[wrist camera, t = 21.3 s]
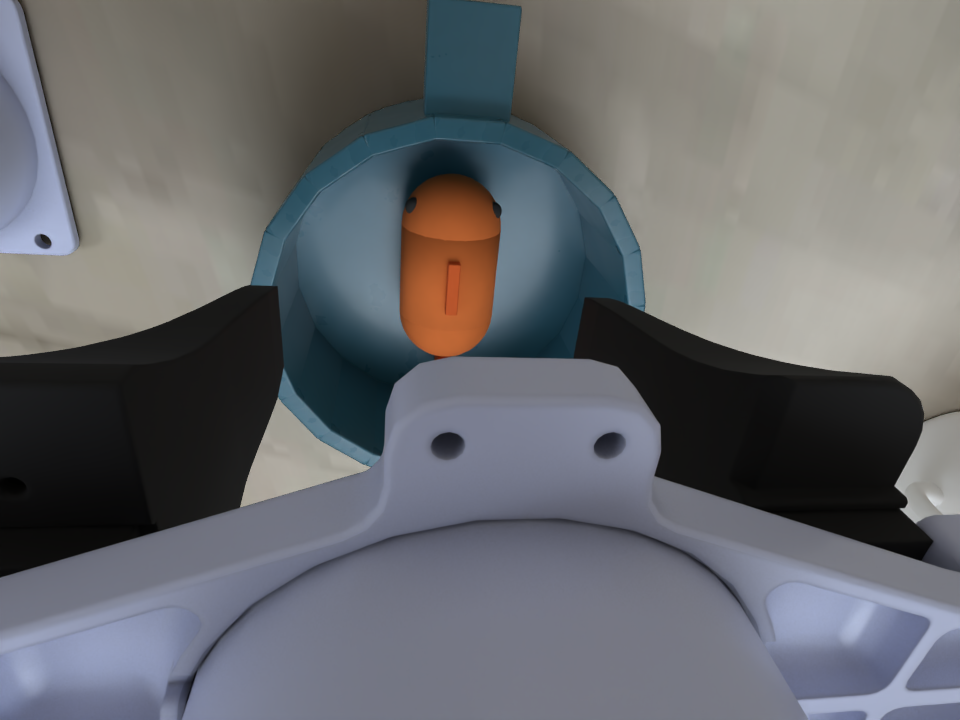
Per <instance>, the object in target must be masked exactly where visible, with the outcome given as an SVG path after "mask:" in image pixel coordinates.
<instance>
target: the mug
mask: <svg viewBox="0 0 960 720" xmlns="http://www.w3.org/2000/svg"><path fill="white" fill-rule="evenodd" d="M895 487H896V488H897V489H898V490H899V491H900V492H901V493H902V494H903V495H905V496H906V497H907V501H908V504H907V505H906V507H905V508H900V509H901V510H902V511H903V512H904V513H905V514H906V515H907V516H908V517H909V518H910V519H911V520H912V521H913V522H914V523H915V524H916V523H917V522H918V521H920V520H922V519H923V518H925V517H928V516H933V515H956V514H960V411H959V412H953V413H948V414H944V415H941V416H938V417H935V418H932V419H930V420H927V421H925V422H923V430H922V433H921V435H920V438H919V440H918V443H917V445H916V447H915V449H914V451H913V453H912V455H911V457H910V458H909V460H908V462H907V464H906V466H905V467H904V469H903V471H902V473H901V475H900V477H899V478H898V480H897V482H896V484H895Z"/></svg>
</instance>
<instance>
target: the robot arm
mask: <svg viewBox="0 0 960 720" xmlns="http://www.w3.org/2000/svg"><path fill="white" fill-rule="evenodd" d="M41 234H43V235H46V236H47V237H49V238H50V240H51V242H52V243H51V245H48V244H46V243H44V242H43V241H42V239H41ZM78 246H79V237H78V233H77V229H76V225H75V221H74V217H73V213H72V209H71V204H70V200H69V196H68V192H67V188H66V184H65V180H64V176H63V172H62V168H61V163H60V159H59V155H58V151H57V147H56V143H55V139H54V135H53V131H52V127H51V123H50V118H49V114H48V110H47V106H46V102H45V98H44V94H43V90H42V86H41V82H40V77H39V73H38V69H37V65H36V61H35V57H34V53H33V49H32V45H31V41H30V36H29V32H28V28H27V24H26V20H25V16H24V12H23V9H22V7H21V5H20V3H19V2H18V1H17V0H0V253H14V254H38V255H69V254H71V253H72V252H74V251H75V250H77V248H78ZM283 369H284V358H283V345H282V333H281V320H280V308H279V296H278V286H261V285H248V286H244V287H242V288H239V289H237V290H235V291H233V292H231V293H228V294H226V295H224V296H222V297H220V298H218V299H216V300H214V301H212V302H210V303H208V304H206V305H204V306H202V307H200V308H198V309H196V310H194V311H191V312H189V313H187V314H185V315H182V316H180V317H178V318H175V319H173V320H171V321H169V322H166V323H164V324H161V325H158V326H156V327H153V328H150V329H147V330H144V331H141V332H138V333H134V334H131V335H128V336H124V337H121V338H117V339H112V340H108V341H104V342H99V343H95V344H90V345H86V346H82V347H77V348H71V349H65V350H59V351H53V352H45V353H37V354H30V355H21V356H11V357H0V720H960V514H956V515H933V516H928V517H925V518H923V519H922V520H920V521H918V522H917V523H916V524H915V523H914V522H913V521H912V520H911V519H910V518H909V517H908V516H907V515H906V514H905V513H904V512H903V511H902V510H901V509H900V508H905V507H906V505H907V504H908V501H907V497H906V496H905V495H903V494H902V493H901V492H900V491H899V490H898V489H897V488H896V487H895V484H896V482H897V480H898V478H899V477H900V475H901V473H902V471H903V469H904V467H905V466H906V464H907V462H908V460H909V458H910V457H911V455H912V453H913V451H914V449H915V447H916V445H917V443H918V440H919V438H920V435H921V433H922V430H923V421H924V411H923V408H922V404H921V401H920V399H919V398H918V397H917V396H916V395H915V393H914V392H913V391H912V390H911V389H909V388H908V387H907V386H905V385H904V384H902V383H901V382H899V381H898V380H897V379H895V378H894V377H891V376H883V375H872V374H862V373H851V372H841V371H832V370H825V369H819V368H813V367H806V366H800V365H795V364H790V363H785V362H780V361H776V360H772V359H768V358H763V357H759V356H755V355H751V354H748V353H744V352H741V351H738V350H735V349H731V348H728V347H725V346H722V345H719V344H716V343H713V342H711V341H708V340H705V339H703V338H700V337H698V336H696V335H693V334H691V333H688V332H686V331H684V330H681V329H679V328H677V327H675V326H673V325H670V324H668V323H666V322H664V321H662V320H660V319H658V318H656V317H654V316H651V315H649V314H647V313H645V312H643V311H641V310H639V309H637V308H635V307H633V306H630V305H628V304H626V303H623V302H621V301H618V300H615V299H611V298H595V297H585V298H584V304H583V309H582V314H581V320H580V325H579V330H578V336H577V341H576V346H575V352H574V357H573V359H558V358H507V357H457V356H452V357H447V358H443V359H438V360H433V361H428V362H424V363H419V364H418V365H417V366H416V367H414V368H413V369H412V370H411V371H409V372H408V373H407V374H406V375H405V376H403V377H402V378H401V379H400V380H398V381H397V382H396V383H395V384H394V387H393V390H392V393H391V396H390V399H389V402H388V405H387V407H386V410H385V442H384V448H383V453H382V455H381V457H380V459H379V460H378V462H376V463H375V464H374V465H373V466H372V467H371V468H370V469H368V470H367V471H364V472H361V473H357V474H354V475H350V476H347V477H344V478H340V479H337V480H333V481H330V482H326V483H323V484H320V485H316V486H313V487H309V488H306V489H302V490H299V491H296V492H292V493H289V494H285V495H282V496H278V497H275V498H272V499H268V500H265V501H261V502H258V503H254V504H251V505H248V506H244V507H241V508H240V505H241V500H242V496H243V492H244V488H245V484H246V481H247V478H248V475H249V472H250V469H251V466H252V463H253V461H254V458H255V456H256V453H257V450H258V448H259V445H260V443H261V440H262V438H263V435H264V433H265V430H266V427H267V425H268V422H269V420H270V417H271V414H272V412H273V409H274V406H275V404H276V401H277V398H278V394H279V389H280V384H281V379H282V374H283Z"/></svg>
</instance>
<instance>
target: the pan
mask: <svg viewBox="0 0 960 720" xmlns="http://www.w3.org/2000/svg"><path fill="white" fill-rule="evenodd" d="M521 13H522V8H521V7H520V6H516V5H507V4H497V3H488V2H479V1H470V0H427V14H426V40H425V66H424V93H423V99H419V100H413V101H407V102H403V103H399V104H396V105H392V106H389V107H385V108H383V109H381V110H378V111H374V112H372V113H370V114H368V115H366V116H365V117H363V118H361V119H360V120H358V121H357V122H355V123H354V124H352V125H350V126H349V127H347V128H346V129H344V130H343V131H342V132H341V133H339V134H338V135H337V136H336V137H334V138H333V139H331V140H330V141H329V142H327V143H326V144H325V145H324V146H323V147H322V148H321V150H320V151H319V152H318V154H317V155H316V157H315V158H314V159H313V161H312V162H311V164H310V165H309V166H308V168H307V169H306V171H305V172H304V174H303V175H302V176H301V178H300V179H299V181H298V182H297V183H296V185H295V186H294V188H293V189H292V191H291V192H290V194H289V195H288V196H287V198H286V199H285V201H284V202H283V204H282V205H281V207H280V208H279V210H278V211H277V213H276V214H275V216H274V217H273V219H272V220H271V222H270V223H269V224H268V226H267V227H266V230H265V231H264V235H263V238H262V242H261V246H260V250H259V254H258V258H257V261H256V265H255V269H254V273H253V277H252V281H251V284H250V285H261V286H278V296H279V308H280V320H281V333H282V345H283V358H284V369H283V374H282V379H281V384H280V389H279V394H278V397H279V399H280V400H281V402H282V403H283V404H284V405H285V406H286V407H287V408H288V409H289V410H290V411H291V412H292V413H293V414H294V415H295V416H296V417H297V418H298V419H299V420H300V421H301V422H302V423H303V424H304V425H305V426H306V427H307V428H308V429H309V430H310V432H311V433H312V434H313V435H314V436H315V437H316V438H317V439H319V440H320V441H322V442H324V443H326V444H328V445H329V446H331V447H333V448H335V449H337V450H338V451H340V452H342V453H344V454H346V455H348V456H349V457H351V458H353V459H355V460H357V461H358V462H360V463H362V464H364V465H365V464H366V465H367V466H370V467H372V466H373V465H374V464H375V463H376V462H378V460H379V459H380V457H381V455H382V453H383V448H384V442H385V410H386V407H387V405H388V402H389V399H390V396H391V393H392V390H393V387H394V384H395V383H396V382H397V381H398V380H400V379H401V378H402V377H403V376H405V375H406V374H407V373H408V372H409V371H411V370H412V369H413V368H414V367H416V366H417V365H418V364H419V363H424V362H428V361H433V360H434V355H432V354H429V353H427V352H425V351H423V350H422V349H420V348H418V347H417V346H416V345H415V344H414V343H413V342H412V341H411V340H410V339H409V337H408V336H407V334H406V332H405V331H404V329H403V326H402V322H401V319H400V269H401V228H402V216H403V211H404V208H405V204H406V202H407V200H408V199H409V197H410V195H411V194H412V192H413V191H414V190H415V189H416V188H417V187H418V186H419V185H420V184H422V183H423V182H425V181H426V180H428V179H430V178H432V177H435V176H437V175H442V174H460V175H464V176H467V177H470V178H472V179H474V180H475V181H477V182H479V183H480V184H482V185H483V186H484V187H485V188H486V189H487V190H488V191H489V192H490V194H491V195H492V197H493V198H494V200H495V202H496V203H498V204H499V205H500V206H501V209H502V214H501V216H500V219H501V233H500V242H499V252H498V261H497V270H496V280H495V289H494V299H493V308H492V317H491V322H490V325H489V328H488V330H487V332H486V334H485V336H484V337H483V338H482V340H481V341H480V342H479V343H478V344H477V345H476V346H475V347H473V348H472V349H471V350H469V351H467V352H465V353H462V354H460V355H456V356H457V357H507V358H558V359H573V357H574V352H575V346H576V341H577V336H578V330H579V325H580V320H581V314H582V309H583V304H584V298H585V297H595V298H611V299H615V300H618V301H621V302H623V303H626V304H628V305H630V306H633V307H635V308H637V309H639V310H641V311H643V312H644V310H645V303H646V302H645V291H644V281H643V270H642V259H641V250H640V246H639V244H638V242H637V240H636V238H635V236H634V234H633V232H632V229H631V227H630V225H629V223H628V221H627V219H626V217H625V215H624V213H623V210H622V208H621V206H620V204H619V202H618V200H617V198H616V196H615V195H614V193H613V192H612V191H611V190H610V189H609V188H608V187H607V186H606V185H605V184H604V183H603V182H602V181H601V180H600V179H599V178H598V177H597V176H595V175H594V174H593V173H592V172H591V171H590V170H589V169H588V168H587V167H586V166H585V165H584V164H583V163H582V162H581V161H580V160H579V159H578V158H577V157H576V156H575V155H574V154H573V153H572V152H571V151H569V150H568V149H567V148H565V147H564V146H562V145H561V144H560V143H558V142H557V141H555V140H554V139H553V138H551V137H550V136H548V135H547V134H545V133H544V132H543V131H541V130H540V129H538V128H537V127H535V126H534V125H533V124H530V123H528V122H526V121H524V120H522V119H520V118H518V117H515V116H513V115H511V109H512V99H513V90H514V80H515V70H516V61H517V51H518V42H519V32H520V22H521ZM450 357H452V356H450Z"/></svg>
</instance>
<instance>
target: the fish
mask: <svg viewBox="0 0 960 720" xmlns="http://www.w3.org/2000/svg"><path fill="white" fill-rule="evenodd" d="M501 214H502V209H501V206H500V205H499V204H498V203H496V202H495V200H494V198H493V197H492V195H491V194H490V192H489V191H488V190H487V189H486V188H485V187H484V186H483V185H482V184H480V183H479V182H477V181H475V180H474V179H472V178H470V177H467V176H464V175H460V174H442V175H437V176H435V177H432V178H430V179H428V180H426V181H425V182H423V183H422V184H420V185H419V186H418V187H417V188H416V189H415V190H414V191H413V192H412V194H411V195H410V197H409V199H408V200H407V202H406V204H405V208H404V211H403V216H402V228H401V269H400V319H401V322H402V326H403V329H404V331H405V332H406V334H407V336H408V337H409V339H410V340H411V341H412V342H413V343H414V344H415V345H416V346H417V347H418V348H420V349H422V350H423V351H425V352H427V353H429V354H432V355H434V360H438V359H443V358H447V357H450V356H456V355H460V354H462V353H465V352H467V351H469V350H471V349H472V348H473V347H475V346H476V345H477V344H478V343H479V342H480V341H481V340H482V338H483V337H484V336H485V334H486V332H487V330H488V328H489V325H490V322H491V317H492V308H493V299H494V289H495V280H496V270H497V261H498V252H499V242H500V233H501V219H500V216H501Z"/></svg>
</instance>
